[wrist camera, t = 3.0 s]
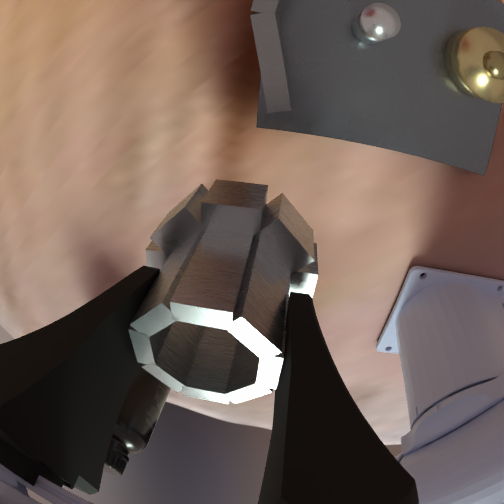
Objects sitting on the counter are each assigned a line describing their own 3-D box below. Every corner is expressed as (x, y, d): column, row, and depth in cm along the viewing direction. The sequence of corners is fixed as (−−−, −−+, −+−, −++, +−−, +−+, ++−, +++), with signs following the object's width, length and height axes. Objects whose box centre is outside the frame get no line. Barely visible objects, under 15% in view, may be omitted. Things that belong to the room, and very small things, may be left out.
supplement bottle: (125, 327, 27) (64, 436, 17) (187, 367, 29) (145, 480, 19) (106, 357, 31) (57, 447, 21) (160, 390, 32) (122, 483, 22)
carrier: (502, 9, 9) (540, 3, 6) (477, 170, 15) (509, 196, 12) (269, -54, 11) (257, -83, 7) (253, 123, 16) (237, 139, 13)
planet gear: (326, 193, 11) (341, 296, 7) (299, 316, 14) (293, 425, 10) (162, 174, 12) (81, 256, 7) (171, 297, 15) (126, 392, 10)
